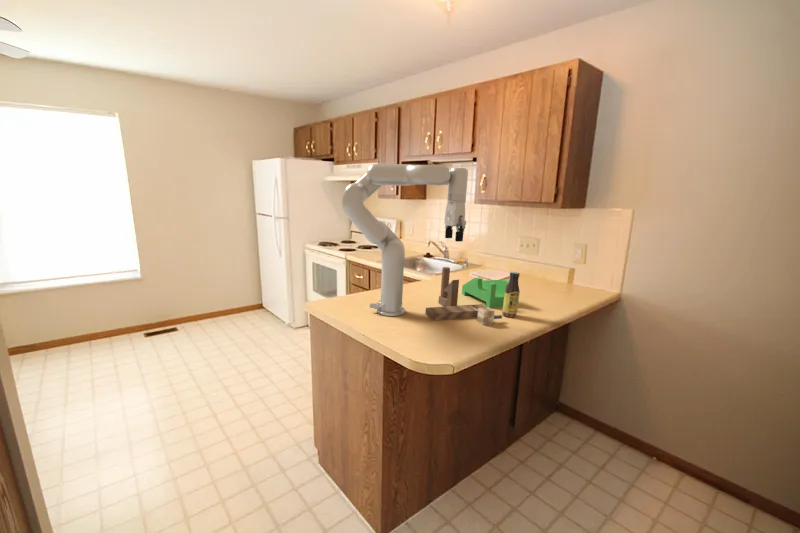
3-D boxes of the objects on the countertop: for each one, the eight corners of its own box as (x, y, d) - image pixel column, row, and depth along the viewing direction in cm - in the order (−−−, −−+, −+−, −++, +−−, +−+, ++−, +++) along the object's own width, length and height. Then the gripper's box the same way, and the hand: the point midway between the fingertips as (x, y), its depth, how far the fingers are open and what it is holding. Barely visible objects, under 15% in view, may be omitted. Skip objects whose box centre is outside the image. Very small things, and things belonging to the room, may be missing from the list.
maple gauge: (482, 325, 145) (483, 311, 144) (477, 321, 150) (478, 308, 148) (503, 323, 149) (505, 310, 147) (497, 319, 153) (498, 306, 152)
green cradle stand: (511, 306, 174) (514, 282, 171) (489, 308, 168) (491, 284, 166) (482, 293, 195) (484, 272, 193) (461, 294, 190) (463, 273, 187)
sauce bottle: (508, 318, 155) (513, 274, 151) (498, 314, 160) (503, 271, 156) (519, 316, 158) (525, 273, 154) (509, 312, 163) (514, 270, 159)
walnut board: (432, 320, 148) (433, 313, 148) (425, 314, 156) (425, 307, 155) (490, 316, 157) (491, 309, 156) (481, 310, 164) (481, 303, 164)
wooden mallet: (450, 309, 163) (453, 271, 160) (438, 303, 173) (440, 267, 169) (457, 309, 165) (460, 271, 161) (444, 302, 174) (447, 266, 171)
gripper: (439, 197, 154) (437, 237, 157) (458, 198, 138) (454, 242, 141) (455, 198, 156) (452, 237, 159) (475, 199, 140) (471, 242, 143)
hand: (453, 239), depth 150 cm, fingers open, 9 cm apart
